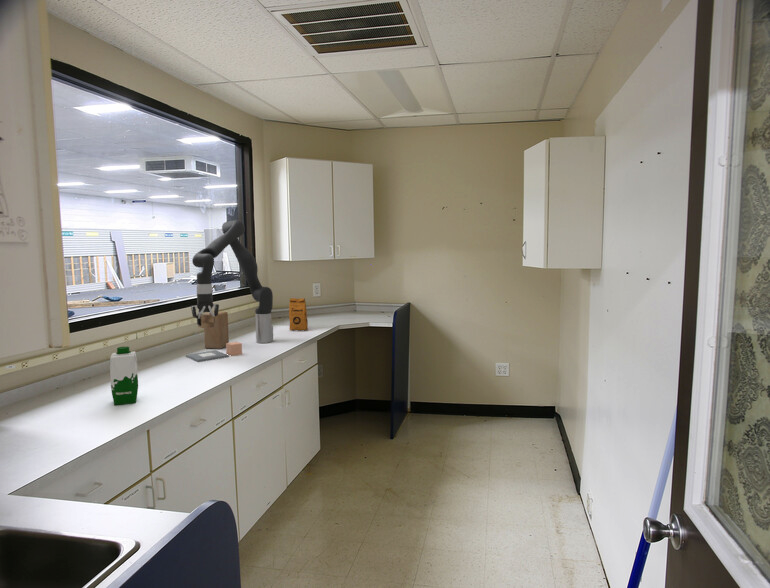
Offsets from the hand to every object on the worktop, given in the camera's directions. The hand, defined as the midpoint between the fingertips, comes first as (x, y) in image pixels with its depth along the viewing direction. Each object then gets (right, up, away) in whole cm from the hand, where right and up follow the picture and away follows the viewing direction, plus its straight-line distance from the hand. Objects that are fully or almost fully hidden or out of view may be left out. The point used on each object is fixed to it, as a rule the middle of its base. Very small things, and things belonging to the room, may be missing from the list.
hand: (205, 324), depth 252 cm
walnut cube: (0, -1, 0) cm, 1 cm away
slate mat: (0, -17, +2) cm, 17 cm away
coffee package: (+34, -9, +80) cm, 87 cm away
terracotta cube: (+12, -16, +7) cm, 22 cm away
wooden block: (-3, -15, +26) cm, 30 cm away
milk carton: (-4, -24, -71) cm, 75 cm away
